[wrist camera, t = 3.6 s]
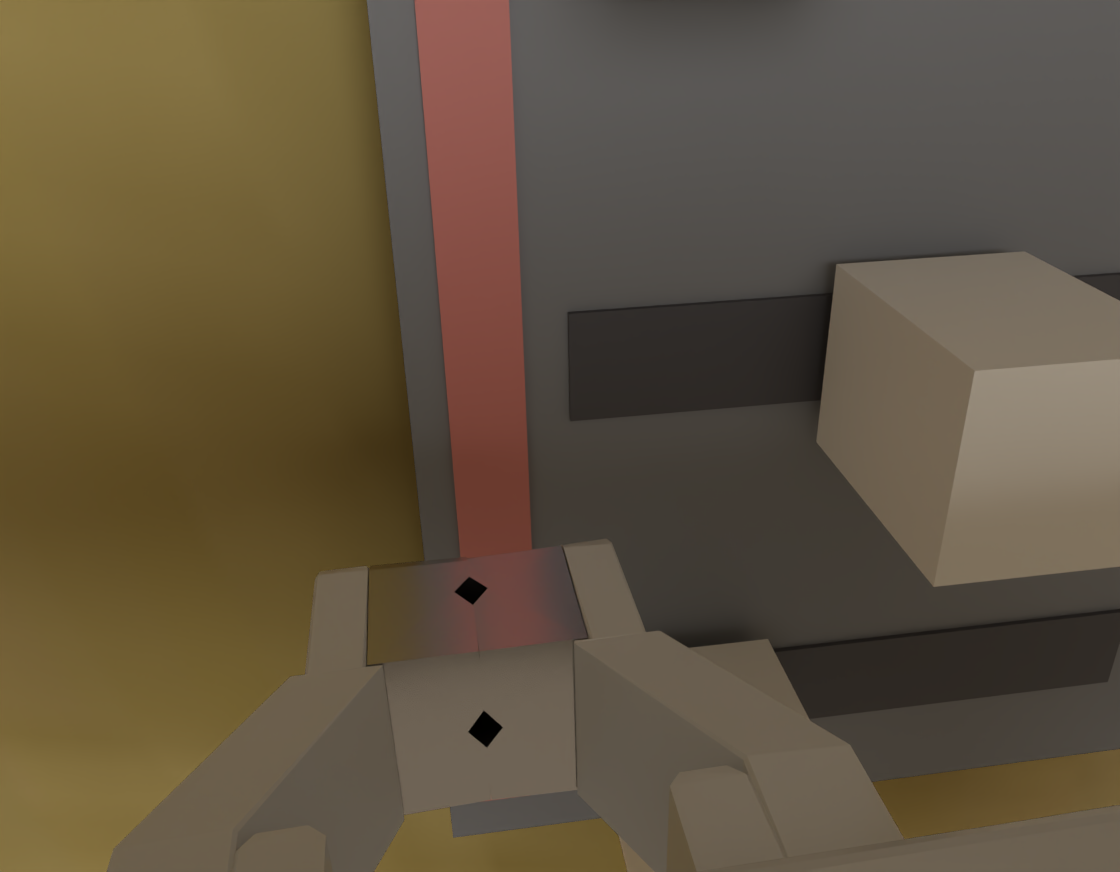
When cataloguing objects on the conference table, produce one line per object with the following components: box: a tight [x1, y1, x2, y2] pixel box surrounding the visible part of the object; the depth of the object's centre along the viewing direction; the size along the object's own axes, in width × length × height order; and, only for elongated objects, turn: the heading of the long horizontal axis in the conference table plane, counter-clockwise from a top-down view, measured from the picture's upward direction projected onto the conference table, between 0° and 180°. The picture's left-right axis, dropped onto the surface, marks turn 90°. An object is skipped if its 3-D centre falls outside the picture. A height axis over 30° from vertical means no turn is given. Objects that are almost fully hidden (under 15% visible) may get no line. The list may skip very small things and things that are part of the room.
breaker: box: [619, 639, 810, 872], centre depth 17 cm, size 3×3×4 cm
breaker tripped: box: [816, 251, 1120, 587], centre depth 14 cm, size 3×3×4 cm
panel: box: [367, 0, 1120, 838], centre depth 17 cm, size 16×20×2 cm
